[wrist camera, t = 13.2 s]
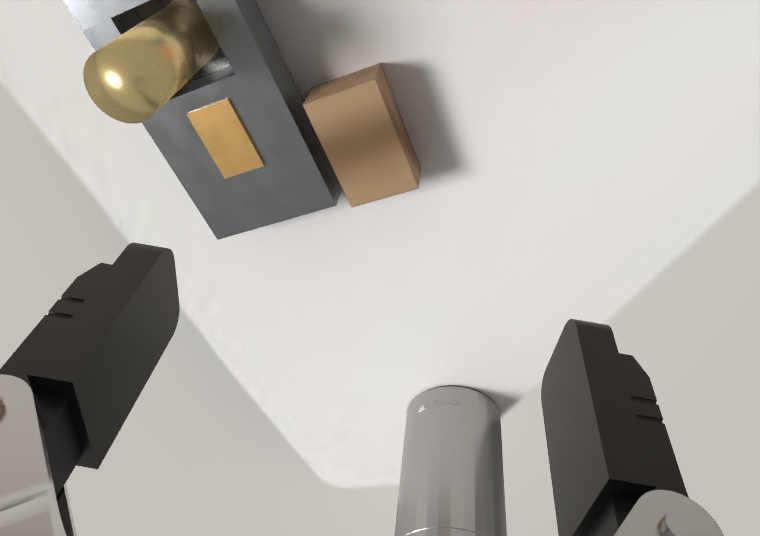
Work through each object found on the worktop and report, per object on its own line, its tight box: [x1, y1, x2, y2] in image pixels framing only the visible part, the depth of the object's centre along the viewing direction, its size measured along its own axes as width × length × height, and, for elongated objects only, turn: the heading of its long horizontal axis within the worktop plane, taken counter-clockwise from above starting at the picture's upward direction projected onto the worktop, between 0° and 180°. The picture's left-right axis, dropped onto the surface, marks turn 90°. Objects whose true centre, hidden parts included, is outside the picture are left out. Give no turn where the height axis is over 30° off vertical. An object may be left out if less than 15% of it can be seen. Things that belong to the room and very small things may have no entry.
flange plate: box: [63, 0, 342, 239], centre depth 40 cm, size 19×10×3 cm, turn 22°
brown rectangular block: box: [303, 63, 421, 207], centre depth 41 cm, size 8×5×3 cm, turn 21°
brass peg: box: [83, 0, 220, 123], centre depth 35 cm, size 4×4×10 cm
